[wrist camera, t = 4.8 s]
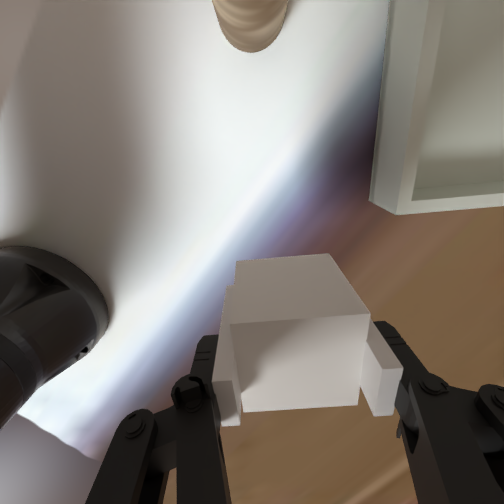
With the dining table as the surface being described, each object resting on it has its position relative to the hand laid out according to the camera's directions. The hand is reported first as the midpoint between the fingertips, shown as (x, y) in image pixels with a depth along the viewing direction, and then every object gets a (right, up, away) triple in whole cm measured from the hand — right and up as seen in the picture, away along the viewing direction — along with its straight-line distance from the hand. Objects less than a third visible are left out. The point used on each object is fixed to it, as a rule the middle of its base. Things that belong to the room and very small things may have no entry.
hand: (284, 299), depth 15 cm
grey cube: (0, 0, 0) cm, 0 cm away
